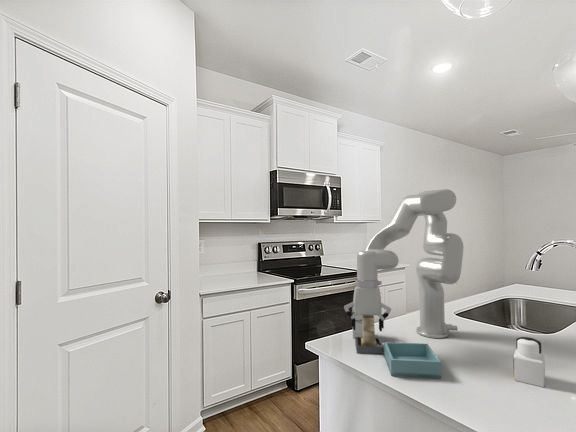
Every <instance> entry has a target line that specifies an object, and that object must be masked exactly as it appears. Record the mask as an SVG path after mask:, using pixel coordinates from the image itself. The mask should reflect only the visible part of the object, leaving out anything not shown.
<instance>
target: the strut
mask: <svg viewBox="0 0 576 432" xmlns="http://www.w3.org/2000/svg"><path fill="white" fill-rule="evenodd" d="M374 316H375V315H374ZM374 316H373V315H362V321H363V338H361V344H360V346H378V345H377V343H376V340H375V337H376V336H375V329H376V328H375V317H374Z"/></svg>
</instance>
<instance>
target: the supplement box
mask: <svg viewBox="0 0 576 432" xmlns="http://www.w3.org/2000/svg"><path fill="white" fill-rule="evenodd" d="M351 308H352V309H351V310H352V311H351V313H353V312H354V310H353V307H351ZM373 316H375V315H373ZM355 337H363V321H362V315H359V314H357V316H356V317H355V330H353V329H352V339H355Z"/></svg>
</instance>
